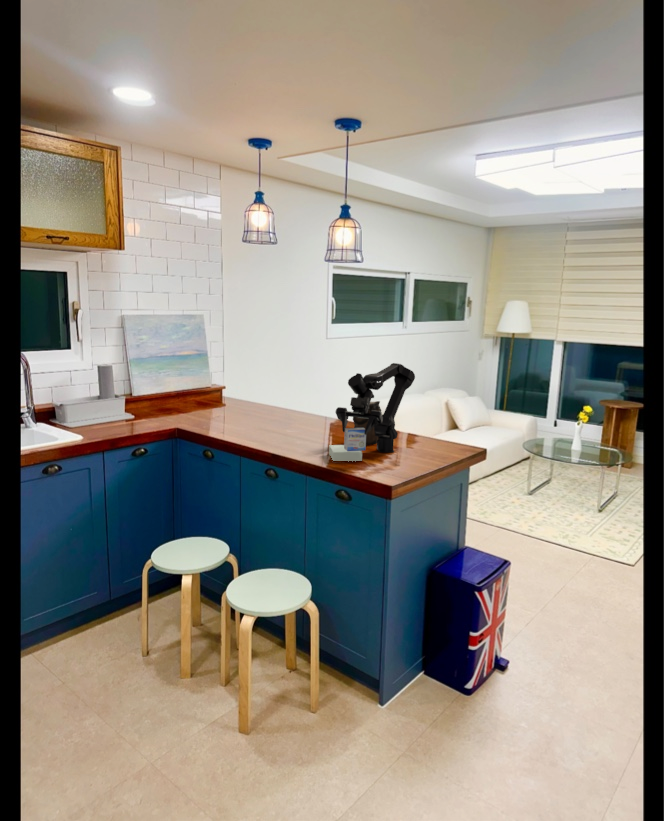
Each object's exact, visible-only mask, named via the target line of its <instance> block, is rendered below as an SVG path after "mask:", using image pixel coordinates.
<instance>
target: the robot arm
mask: <svg viewBox="0 0 664 821" xmlns="http://www.w3.org/2000/svg"><path fill="white" fill-rule="evenodd" d="M393 377H394V378H393ZM391 378H393V380H394V388H393V390H392V393H391V394H390V397H389V400H388V402H387V405H386V408H385V410H384V412H383V413H382V411H381V412H380V411H375V410H372V411H371V414H369V413H367V412H368V409H369V408H370V407H369V405H370V402H372V399H375V395H374V392H373V391H372V390H374V391H378V390H379V389H381V388H382V387H384V383H385V382H387V381H388V380H390V379H391ZM415 378H416V375H415V373H414V371H413V370H411V369H409V368H407V367H406V366H404V365H403V364H401V363H398V362H397V363H395V362H393V363H391V364H389V366H387V367H385V368H382V369H381V370H380V371H378V372H374V373H369V374H366V375H365V376H363V375H362V373H359V372H358V373H356V374H355V375H353V376H351V377H350V378H349V379H348V380H347V381H348V382H347V385H348V386H349V388H351V390H352V391H353V393H354V394H356V395H357V397H354V396H353V397H351V398H350V405H349V406H351V410H352V411H349V410H348V409H347V407H341V406H339V407H337V408H336V410H335V415H336V417H337V419H338V420H339V421H340V422H341V428H342V432H343V433H345V428H347V426H348V422H349V421H348V419H349V417H351V418H353V417H358V418H368V419H369V420H368V423H367V426H366V429H365V435H366V434H367V433H368V432H369V431H370V430H371V429H372V428H373V427H374V431H375V436H378V440H377V444H376V449H377V451H378V452H379V453H395V450H394V440H396V439H397V437H398V431H397V429H396V428H395V427H396V422H395V417H396V414H397V412H398V410H399V408H400V405H401V402H402V400H403V397H404V394H405V393H406V390H407V389H409V388H410V387H412V385H413V383H414V381H415Z"/></svg>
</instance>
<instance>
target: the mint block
mask: <svg viewBox="0 0 664 821" xmlns="http://www.w3.org/2000/svg"><path fill="white" fill-rule="evenodd" d="M328 454H329V455H328V456H331V457H330V459H331V458H332V459H331V460H333V461H348V462H349V461H352V463H353V461H355V463H356V461H363V451H347V450H345V449H344V444H333V445H332V444H329V445H328ZM333 461H332V462H333ZM348 462H347V463H348ZM349 463H350V462H349Z"/></svg>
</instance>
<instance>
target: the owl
mask: <svg viewBox="0 0 664 821" xmlns="http://www.w3.org/2000/svg"><path fill="white" fill-rule="evenodd" d="M380 403H381V401H380V400H378V401H377V400H376V401H370V405H369V407H370V408H369V409H368V412H367V413H369V414H371V411H372V410H375V411H380V412H381V413H382V409H381V407H380ZM368 420H369V419H368V418H358V417H352V421H353V424H354V427H353V428H365V429H366V426H367V423H368ZM377 440H378V436H375V431H374V427H373V428H372V429H371V430H370V431H369V432H368V433H367V434H366V446H372V445H373V444H375V445H377ZM371 444H372V445H371Z"/></svg>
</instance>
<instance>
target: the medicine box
mask: <svg viewBox="0 0 664 821" xmlns="http://www.w3.org/2000/svg"><path fill="white" fill-rule="evenodd" d="M343 434H344V439H343V440H344V441H343V445H344V449H345V450H347V451H362V452H363V451H366V449H367V448H366V446H367V445H366V435H365V428H354V427H346V428H345V432H343Z"/></svg>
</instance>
